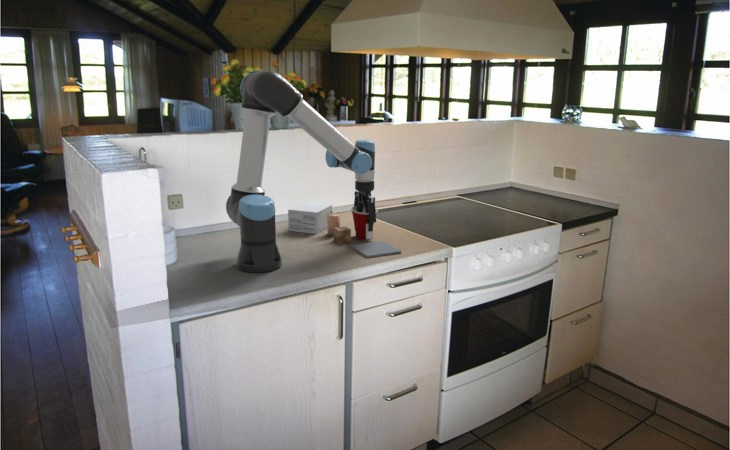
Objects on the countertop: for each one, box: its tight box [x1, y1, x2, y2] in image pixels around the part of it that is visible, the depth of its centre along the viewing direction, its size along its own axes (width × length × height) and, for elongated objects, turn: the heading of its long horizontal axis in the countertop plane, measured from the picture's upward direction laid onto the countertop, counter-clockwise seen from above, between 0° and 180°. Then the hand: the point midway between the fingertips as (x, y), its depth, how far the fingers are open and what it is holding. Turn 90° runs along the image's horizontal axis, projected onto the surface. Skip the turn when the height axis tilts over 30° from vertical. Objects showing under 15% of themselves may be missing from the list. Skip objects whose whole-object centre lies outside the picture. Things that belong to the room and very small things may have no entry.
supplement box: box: [287, 201, 333, 235], centre depth 233 cm, size 17×13×9 cm
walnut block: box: [333, 226, 352, 244], centre depth 216 cm, size 5×5×5 cm
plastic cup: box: [350, 206, 379, 241], centre depth 219 cm, size 11×11×12 cm
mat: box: [350, 240, 402, 259], centre depth 205 cm, size 14×14×1 cm
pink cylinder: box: [327, 213, 341, 237], centre depth 224 cm, size 5×5×8 cm
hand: (364, 235), depth 220 cm, fingers closed on plastic cup, 9 cm apart
